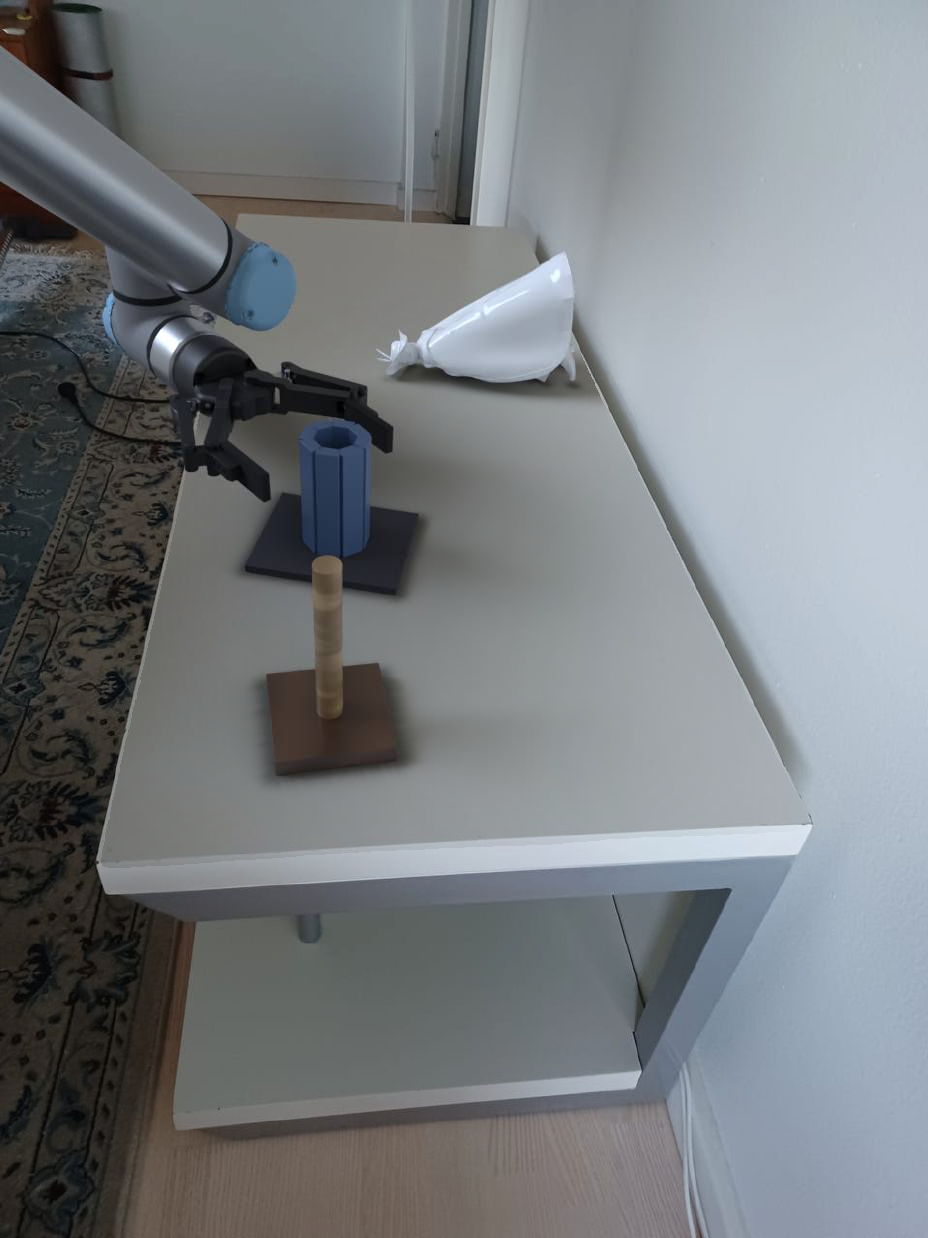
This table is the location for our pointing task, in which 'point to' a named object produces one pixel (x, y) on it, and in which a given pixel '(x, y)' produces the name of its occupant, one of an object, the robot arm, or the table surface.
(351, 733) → the dowel stand
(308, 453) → the sleeve
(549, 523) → the table surface
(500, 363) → the knotted white bag
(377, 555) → the mat
